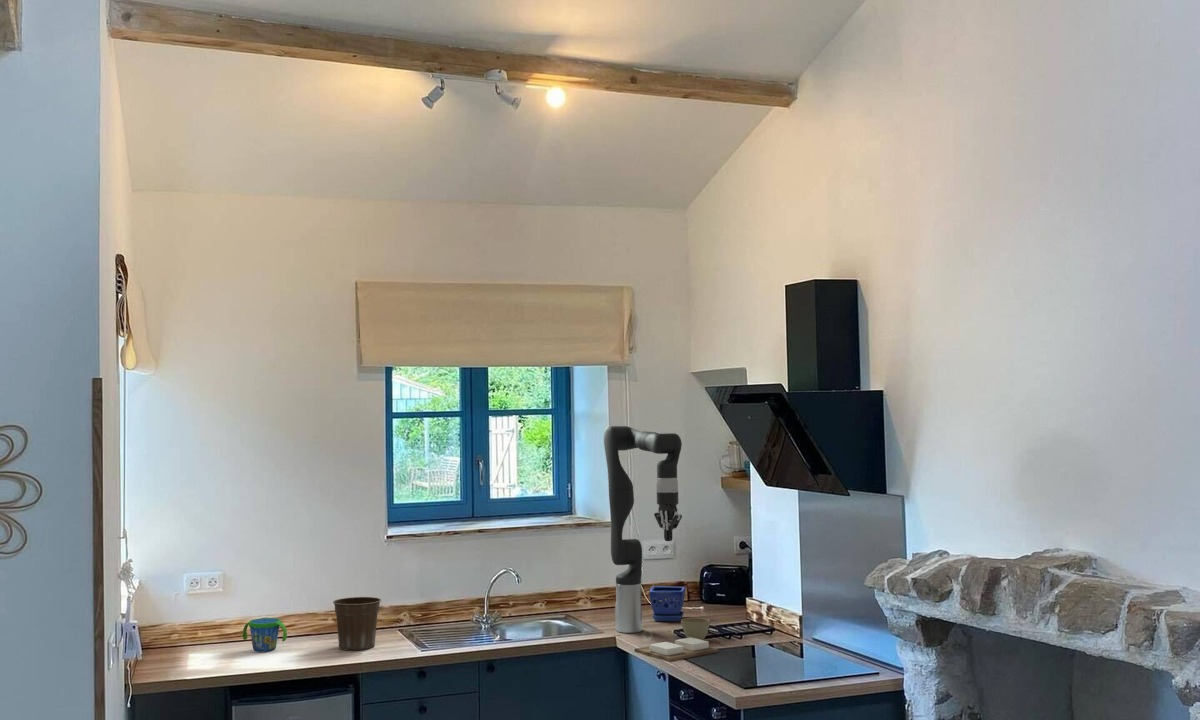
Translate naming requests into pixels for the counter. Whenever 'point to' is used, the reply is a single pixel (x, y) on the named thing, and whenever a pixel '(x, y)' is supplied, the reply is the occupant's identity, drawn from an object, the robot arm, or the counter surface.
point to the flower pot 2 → (695, 627)
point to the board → (673, 657)
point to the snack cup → (264, 633)
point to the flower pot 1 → (667, 602)
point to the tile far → (692, 643)
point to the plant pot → (356, 622)
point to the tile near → (666, 648)
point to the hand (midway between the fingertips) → (668, 540)
